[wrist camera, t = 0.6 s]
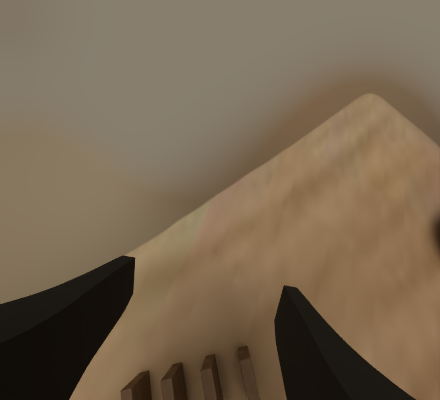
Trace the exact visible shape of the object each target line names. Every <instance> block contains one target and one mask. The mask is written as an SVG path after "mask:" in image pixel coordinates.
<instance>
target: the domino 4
mask: <svg viewBox="0 0 440 400" xmlns="http://www.w3.org/2000/svg"><path fill="white" fill-rule="evenodd" d="M238 350H239V358H240V364H241V369H242V373H243V378H244V382H245V387H246V391H247V396H248V400H260V398H259V394H258V390H257V385H256V381H255V377H254V372H253V368H252V364H251V360H250V356H249V352H248V348H247V346H245V347H241V348H238Z"/></svg>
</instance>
